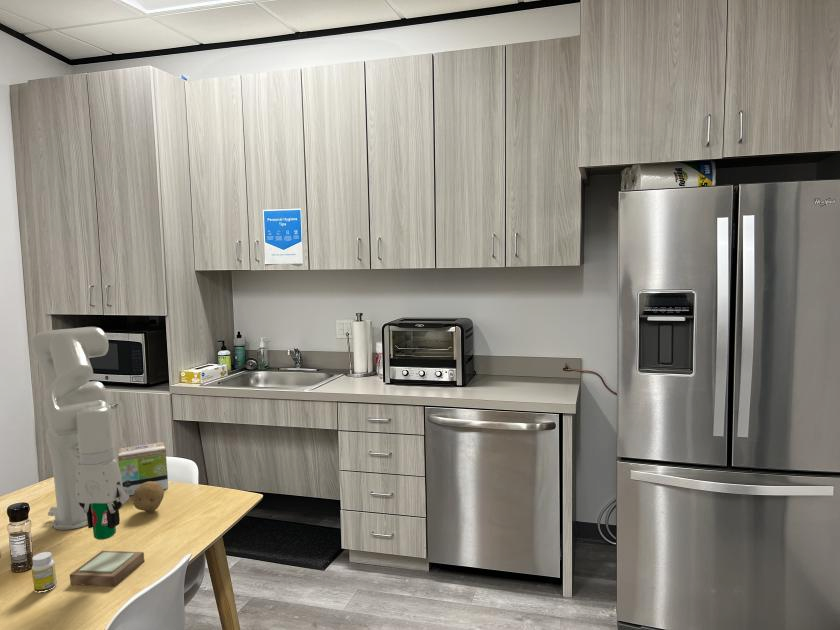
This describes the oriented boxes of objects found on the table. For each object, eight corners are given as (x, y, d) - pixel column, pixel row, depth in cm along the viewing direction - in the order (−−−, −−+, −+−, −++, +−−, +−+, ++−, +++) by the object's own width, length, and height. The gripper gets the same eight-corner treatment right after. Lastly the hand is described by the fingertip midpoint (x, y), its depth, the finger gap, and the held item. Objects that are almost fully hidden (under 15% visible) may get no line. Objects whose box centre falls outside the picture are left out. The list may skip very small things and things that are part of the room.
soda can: (106, 541, 149) (102, 494, 147) (89, 540, 150) (84, 494, 148) (120, 532, 154) (116, 486, 152) (103, 531, 155) (99, 486, 153)
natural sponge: (156, 519, 184) (153, 487, 183) (128, 519, 185) (125, 488, 184) (170, 506, 193) (167, 476, 192) (143, 507, 194) (140, 477, 193)
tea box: (121, 498, 202) (117, 456, 200) (120, 489, 211) (116, 448, 209) (169, 489, 208) (165, 447, 207) (166, 480, 217) (163, 440, 216)
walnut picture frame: (70, 584, 148) (69, 573, 147) (103, 560, 159) (101, 549, 159) (115, 586, 146) (113, 574, 146) (144, 561, 158) (143, 550, 157)
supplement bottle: (40, 583, 149) (37, 551, 148) (60, 582, 149) (57, 550, 148) (30, 594, 144) (26, 561, 143) (50, 593, 144) (46, 559, 143)
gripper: (55, 461, 147) (63, 532, 149) (118, 461, 145) (125, 533, 146) (77, 451, 155) (84, 519, 156) (137, 451, 152) (144, 520, 154)
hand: (104, 525), depth 151 cm, fingers closed on soda can, 5 cm apart
